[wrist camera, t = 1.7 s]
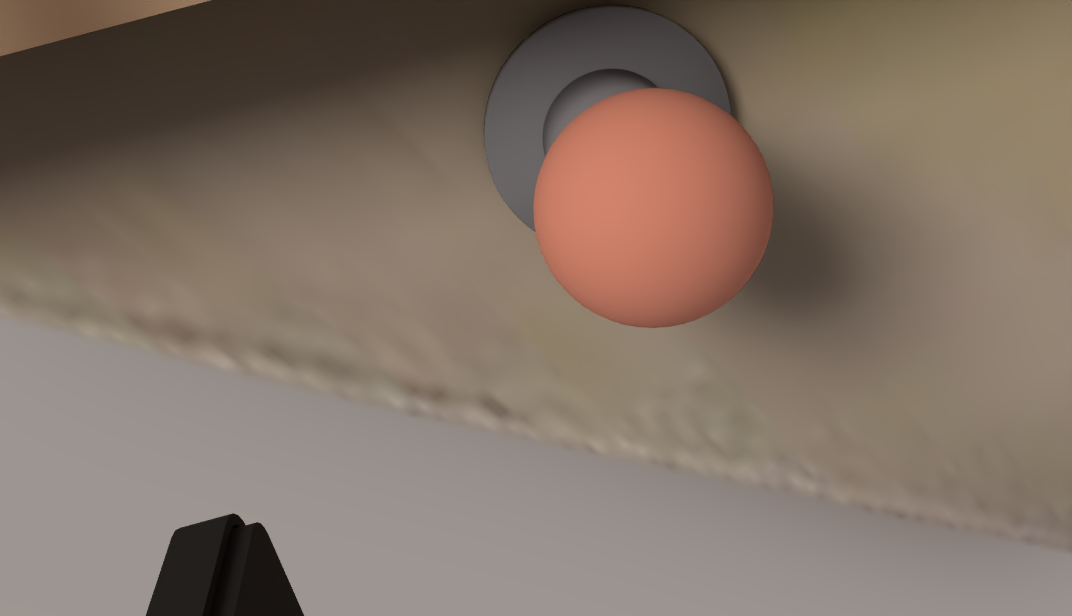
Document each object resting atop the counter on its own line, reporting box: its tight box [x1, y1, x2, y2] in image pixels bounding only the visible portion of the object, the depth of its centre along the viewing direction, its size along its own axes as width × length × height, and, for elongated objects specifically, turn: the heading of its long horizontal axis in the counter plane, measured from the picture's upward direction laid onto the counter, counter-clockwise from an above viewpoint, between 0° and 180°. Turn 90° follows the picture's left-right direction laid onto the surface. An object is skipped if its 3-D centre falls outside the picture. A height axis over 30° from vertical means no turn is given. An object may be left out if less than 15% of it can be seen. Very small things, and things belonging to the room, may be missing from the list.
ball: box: [533, 88, 774, 328], centre depth 17 cm, size 4×4×4 cm
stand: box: [484, 5, 731, 232], centre depth 20 cm, size 5×5×3 cm
